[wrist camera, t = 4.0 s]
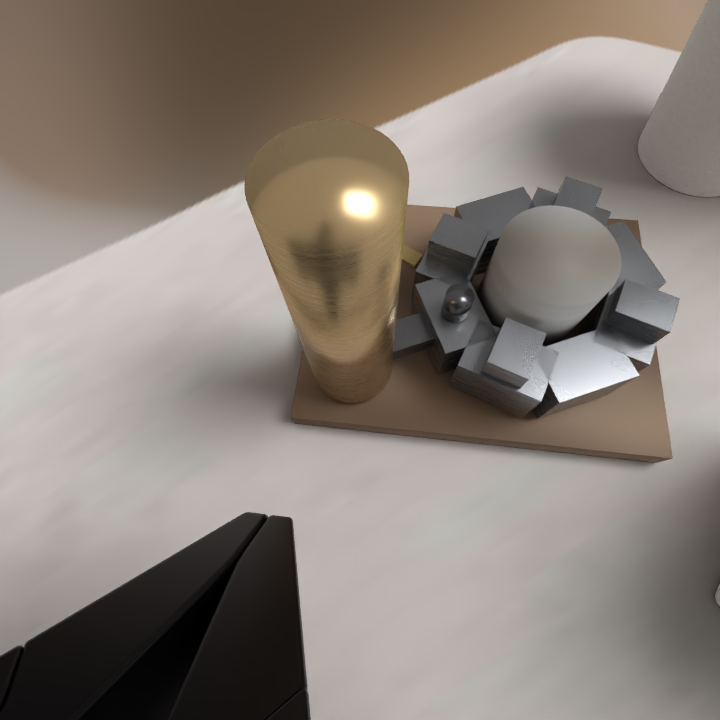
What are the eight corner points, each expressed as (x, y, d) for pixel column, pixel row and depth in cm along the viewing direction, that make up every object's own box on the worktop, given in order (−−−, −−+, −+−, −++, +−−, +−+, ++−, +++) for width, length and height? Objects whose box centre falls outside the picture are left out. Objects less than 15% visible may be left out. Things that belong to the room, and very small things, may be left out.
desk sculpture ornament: (673, 372, 17) (1023, 179, 8) (347, 484, 16) (308, 413, 7) (565, 205, 20) (722, -71, 11) (287, 288, 19) (204, 57, 10)
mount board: (656, 462, 17) (772, 432, 12) (295, 423, 18) (264, 380, 13) (626, 234, 21) (703, 141, 16) (332, 213, 22) (319, 120, 17)
